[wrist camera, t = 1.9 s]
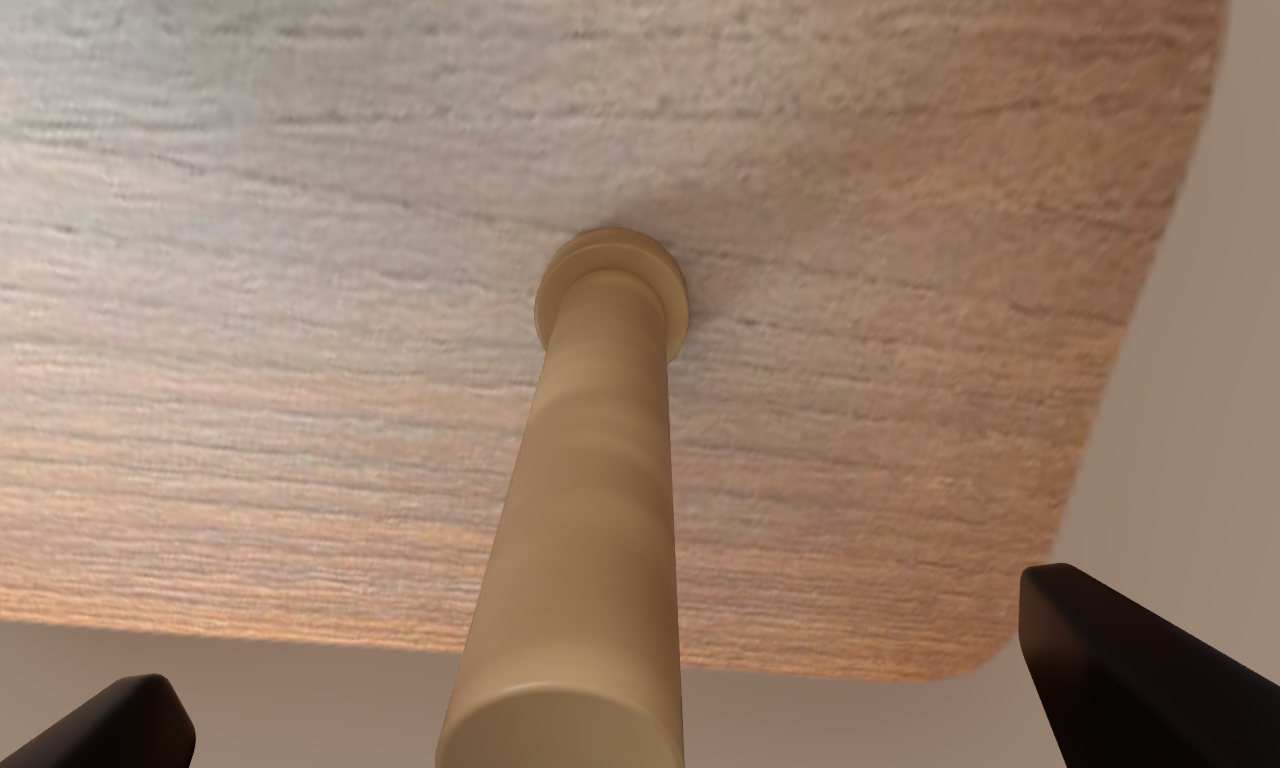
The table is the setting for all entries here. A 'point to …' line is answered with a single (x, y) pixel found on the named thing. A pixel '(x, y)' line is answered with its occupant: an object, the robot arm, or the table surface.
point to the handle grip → (585, 534)
